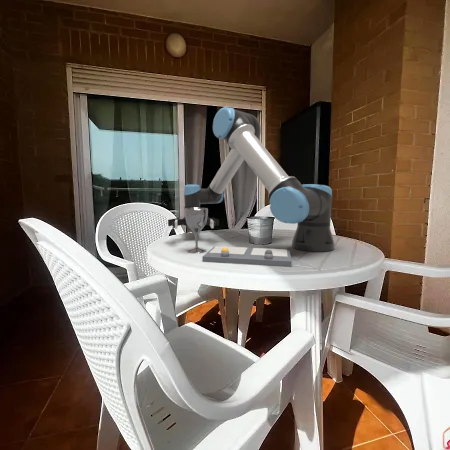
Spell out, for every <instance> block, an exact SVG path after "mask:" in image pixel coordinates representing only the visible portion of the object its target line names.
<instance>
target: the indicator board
mask: <svg viewBox="0 0 450 450" xmlns="http://www.w3.org/2000/svg"><path fill="white" fill-rule="evenodd" d="M201 259H202V260H201V261H202V262H203V263H222V264H239V265H240V264H241V265H259V266H271V267H272V266H274V267H276V266H277V267H289V268H290V267H291V268H292V266H293V265H292V261H293V260H292V256H291V250H289V249H287V248H286V249H284V248H280V249H279V248H263V247H262V248H261V247H253V248H251V247H250V248H249V247H242V246H241V247H239V246H219V245H218V246H213V247H212V248H211V249H210V250H209V251H208V250H207V251H206V252H205V254H204V255H203V256H202V257H201Z"/></svg>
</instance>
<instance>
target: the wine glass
mask: <svg viewBox="0 0 450 450" xmlns="http://www.w3.org/2000/svg"><path fill="white" fill-rule="evenodd" d="M208 214H209V209H208V207H207V208H206V207H200V208H185V219H186V223H187V225H188V226H187V228H189V229H190V230H191V231H192V233H193V235H194V240H195V241H194V242H195V244H194V245H195V247H194V248H189V249H187V250H186V252H187V253H188V254H189V253H190V254H201V253H207V252H208V250H207V249H204V248H200V247H199V234H200V233H201V231H202V230H203V229H204V227H205V226H207V225H206V222H207V217H208V218H209V215H208Z"/></svg>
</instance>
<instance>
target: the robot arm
mask: <svg viewBox="0 0 450 450" xmlns="http://www.w3.org/2000/svg"><path fill="white" fill-rule="evenodd" d="M261 131H262V130H261V123H260V121H259V120H258V118H257V117H256V116H255V115H253V114H251V113H248V112H244V111H242V110H238V109H235V108H233V107H228V106H224V107H222V108H220V109H219V110H218V111H217V112H216V114H215V116H214V118H213V122H212V132H213V134H214V136H215V137H216V138H218V139H220V140H223V141H225V142H226V144H227V145H228V147H229V148H230V150H229V152H228V154H227V156H226V157H225V159H224V161H223V162H222V164H221V166H220V168H219V169H218V170H217V172H216V174H215V176H214V177H213V179H212V180H211V183H210V184H209V186H208V187H207V188H201V187H200V185H199V184H186V185H184V186H183V187H184V188H183V189H184V190H183V197H184V198H183V203H184V205H183V206H184V210H183V211H184V214H183V218H181V217H180V216H178V217H176V218H171V219H170V218H169V219H167V226H168V227H172V229H175V230H178V226H187V227H188V225H187V223H186V219H185V208H201V205H207V204H211V205H213V204H214V205H215V204H219V203H222V202H223V201H224V197H225V196H224V191H225V190H226V188H227V187H228V185H229V184H230V182H231V180H232V179H233V178H234V176H235V175H236V173H237V171H238V170H239V168H240V167H241V165H243V162H244V161H245V163H246V164H247V165H248V166H249V168H250V169H251V171H252V172H253V173H254V175H255V176H256V177H257V179H258V180H259V181H260V183H262V185H263V186H264V188H265V189H266V191H268V195H267V198H268V200H269V205H270V206H269V209H270V213H271V214H272V216H273V217H274V218H275V219H276V220H278V221H279V222H281V223H282V224H283V223H284V224H293V225H294V224H297V227H296V229H295V232H294V235H293V238H292V240H291V247H292V248H294V249H296V250H301V251H305V252H319V253H321V252H330V251H333V250H335V241H334V237H333V234H332V231H331V219H332V217H331V215H332V204H333V203H332V202H333V190H332V188H331V187H330V186H328V185H325V184H316V183H315V184H313V183H312V184H311V183H310V184H309V183H308V184H304V183H303V184H301V182H300V181H299V180H298V179H297V177H295V176H289V175H288V174H287V173H286V171H285V170H284V169H283V168H282V166H281V165H280V164H279V162H277V160H276V159H275V158H274V157H273V156H272V155H271V153H270V152H269V151H268V149H267V148H266V147H265V145H263V143H262V142H261V141H260V138H261ZM219 224H220V220H219V219H218V218H215V217H209V216H208V217H207V222H206V225H205V226H210V228H211V229H214V228H215V226H217V227H218V226H219Z"/></svg>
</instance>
